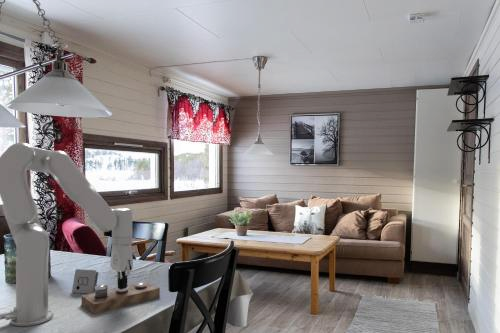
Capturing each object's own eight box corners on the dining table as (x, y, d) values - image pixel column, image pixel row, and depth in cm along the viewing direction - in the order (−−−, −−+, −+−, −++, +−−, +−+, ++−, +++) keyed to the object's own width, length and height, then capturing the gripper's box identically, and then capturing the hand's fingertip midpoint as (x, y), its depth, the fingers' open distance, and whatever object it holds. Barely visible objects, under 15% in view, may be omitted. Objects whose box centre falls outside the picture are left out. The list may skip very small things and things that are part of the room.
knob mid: (118, 302, 146) (118, 290, 146) (113, 299, 149) (113, 287, 149) (129, 299, 149) (129, 288, 149) (124, 296, 152) (124, 285, 152)
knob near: (97, 300, 140) (97, 288, 140) (93, 297, 143) (93, 285, 143) (109, 298, 143) (109, 285, 143) (104, 295, 146) (104, 283, 146)
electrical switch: (71, 292, 158) (72, 269, 159) (79, 290, 163) (80, 267, 164) (91, 294, 156) (93, 271, 157) (99, 291, 161) (100, 269, 162)
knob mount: (94, 314, 136) (94, 304, 136) (81, 305, 144) (81, 295, 144) (159, 296, 154) (159, 288, 154) (144, 289, 162) (144, 281, 162)
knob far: (138, 297, 151) (138, 286, 151) (133, 294, 155) (133, 283, 155) (148, 294, 154) (148, 283, 154) (143, 292, 158) (143, 281, 158)
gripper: (104, 239, 152) (104, 285, 152) (121, 244, 141) (121, 294, 141) (122, 236, 157) (122, 281, 157) (140, 241, 146) (140, 290, 146)
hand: (122, 287), depth 149 cm, fingers closed
